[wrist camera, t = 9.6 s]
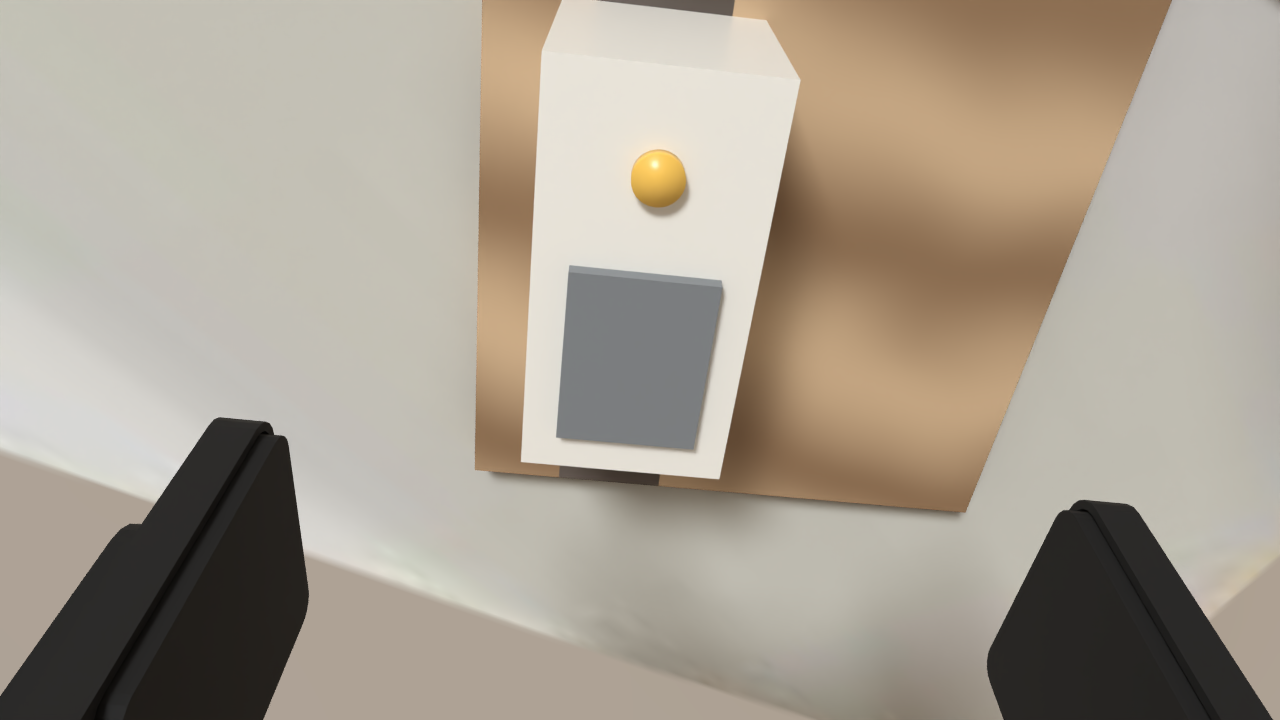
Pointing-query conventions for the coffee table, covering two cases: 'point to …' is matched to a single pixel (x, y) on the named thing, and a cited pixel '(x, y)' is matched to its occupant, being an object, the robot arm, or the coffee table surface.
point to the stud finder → (649, 232)
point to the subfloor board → (857, 233)
